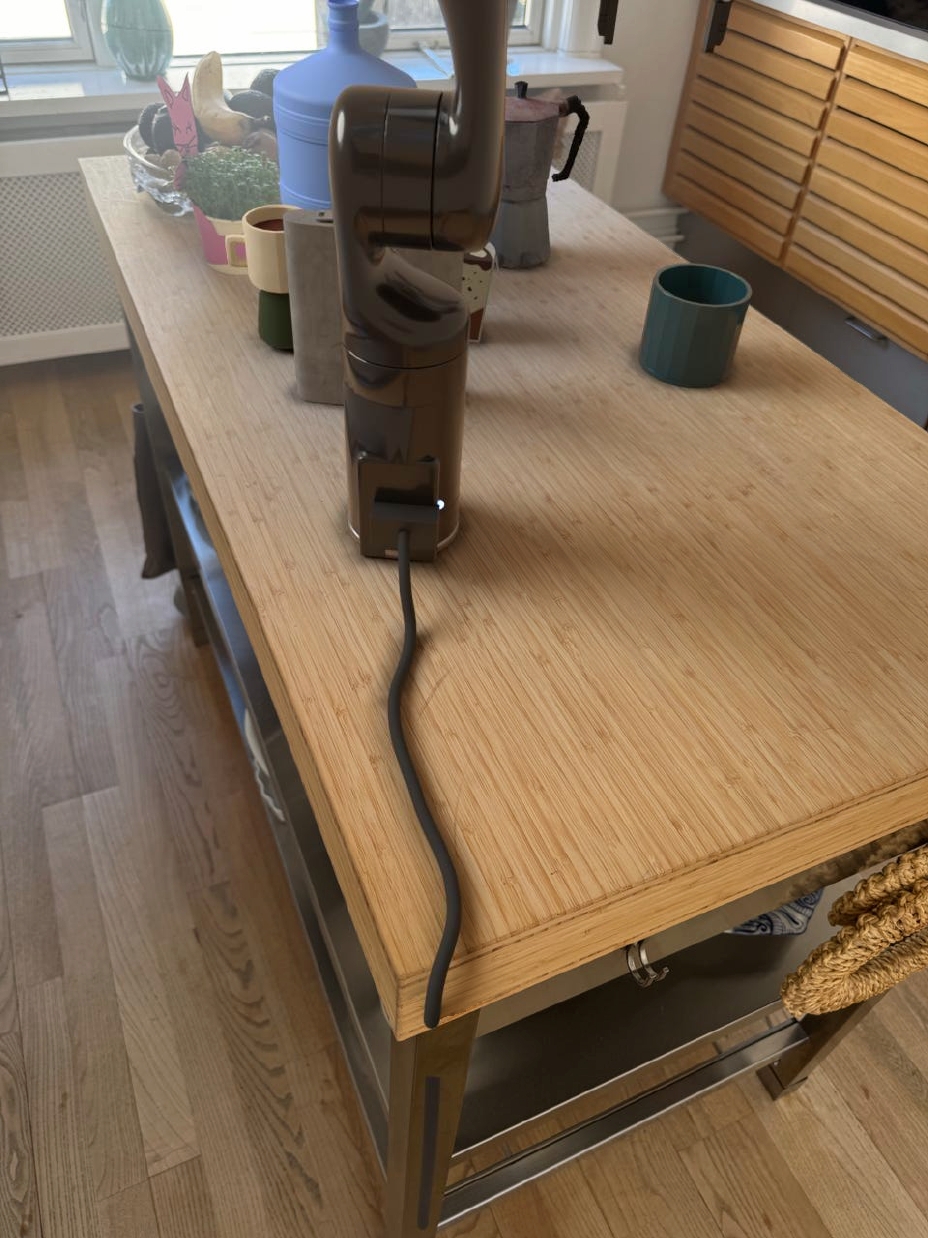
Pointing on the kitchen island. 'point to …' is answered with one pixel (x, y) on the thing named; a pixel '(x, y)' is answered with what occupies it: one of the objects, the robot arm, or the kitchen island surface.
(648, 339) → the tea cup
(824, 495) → the kitchen island surface
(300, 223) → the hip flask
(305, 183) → the water jug
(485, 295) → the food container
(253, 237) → the character mug
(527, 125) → the moka pot
